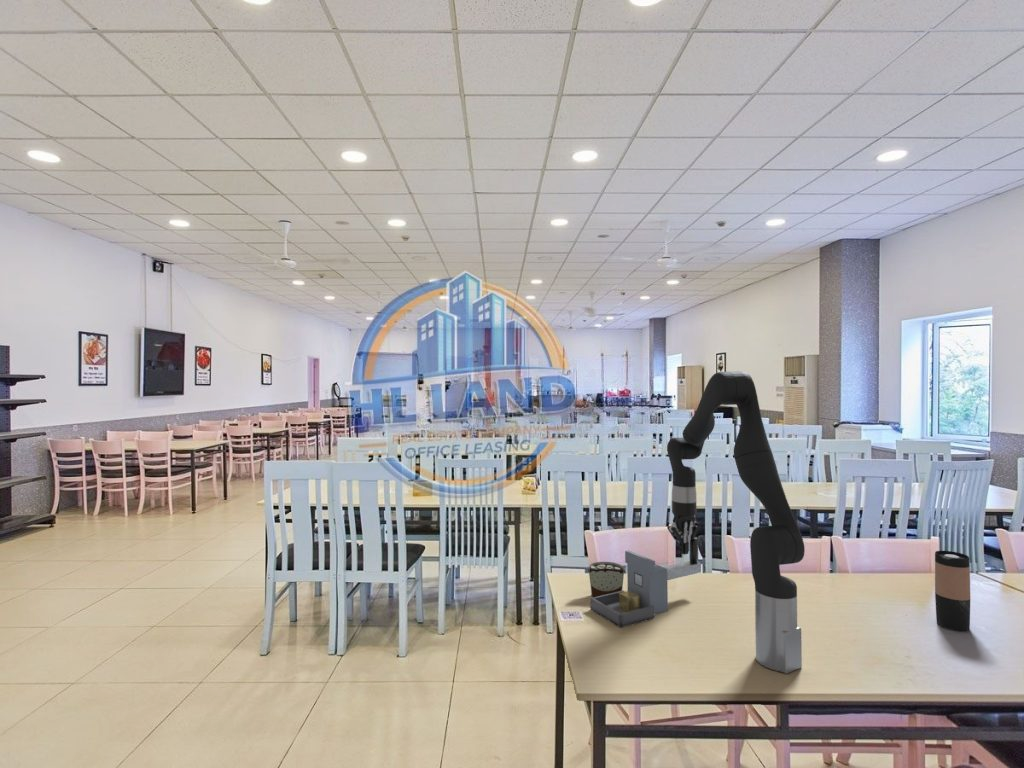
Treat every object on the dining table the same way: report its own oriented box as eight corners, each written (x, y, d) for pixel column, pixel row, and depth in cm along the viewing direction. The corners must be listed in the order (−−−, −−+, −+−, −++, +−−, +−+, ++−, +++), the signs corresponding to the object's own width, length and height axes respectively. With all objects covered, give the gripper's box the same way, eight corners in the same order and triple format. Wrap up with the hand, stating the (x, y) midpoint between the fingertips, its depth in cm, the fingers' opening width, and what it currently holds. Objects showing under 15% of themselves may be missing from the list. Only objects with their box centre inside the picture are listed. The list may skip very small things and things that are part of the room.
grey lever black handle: (701, 572, 171) (700, 538, 171) (641, 586, 159) (641, 549, 159) (693, 569, 174) (693, 536, 174) (635, 583, 162) (634, 547, 162)
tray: (654, 618, 154) (654, 606, 154) (620, 627, 148) (620, 615, 148) (623, 601, 167) (622, 590, 167) (590, 609, 161) (590, 598, 161)
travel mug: (961, 621, 151) (960, 551, 151) (977, 633, 143) (976, 560, 144) (930, 618, 153) (929, 549, 153) (943, 630, 145) (942, 557, 146)
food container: (624, 591, 175) (623, 561, 175) (626, 599, 168) (625, 567, 169) (586, 590, 176) (586, 560, 176) (587, 597, 170) (586, 566, 170)
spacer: (639, 595, 158) (628, 598, 156) (639, 610, 158) (629, 613, 156) (629, 590, 162) (619, 593, 160) (629, 605, 162) (619, 607, 160)
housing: (670, 612, 158) (669, 558, 159) (652, 616, 155) (651, 561, 155) (642, 598, 169) (642, 547, 169) (625, 602, 166) (625, 550, 166)
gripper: (677, 503, 163) (677, 560, 163) (707, 499, 170) (708, 553, 169) (660, 499, 170) (660, 553, 170) (689, 495, 176) (690, 547, 176)
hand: (684, 553), depth 170 cm, fingers closed
